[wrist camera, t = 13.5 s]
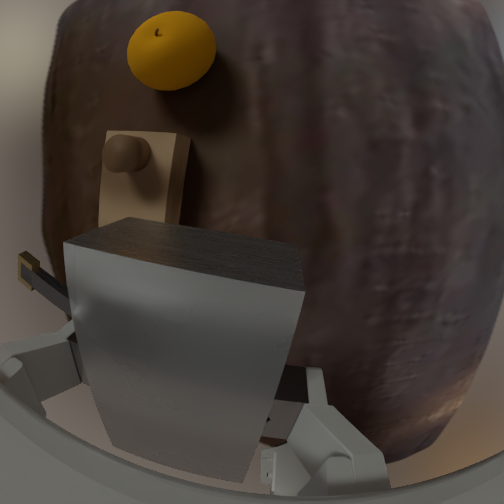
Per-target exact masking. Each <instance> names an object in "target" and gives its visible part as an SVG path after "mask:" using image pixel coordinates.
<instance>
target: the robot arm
mask: <svg viewBox="0 0 504 504" xmlns="http://www.w3.org/2000/svg"><path fill="white" fill-rule="evenodd" d="M81 382H82V383H84V384H86V385H88V386H89V382H88V379H87V376H86V373H85V369H84V366H83V362H82V358H81V354H80V350H79V346H78V342H77V338H76V333H75V328H74V323H73V319H72V320H71V321H70V322H68V323H67V324H66V325H65V326H64V327H63V328H61V329H60V330H59V331H58V332H56V333H55V334H54V333H47V334H43V335H38V336H35V337H30V338H25V339H20V340H16V341H11V342H7V343H2V344H0V504H504V450H503V451H501V452H499V453H497V454H495V455H493V456H491V457H489V458H487V459H484V460H483V461H480V462H478V463H475V464H473V465H470V466H468V467H465V468H463V469H460V470H457V471H455V472H452V473H449V474H446V475H443V476H440V477H437V478H433V479H430V480H426V481H423V482H419V483H415V484H412V485H406V486H402V487H397V488H393V489H391V486H390V481H389V477H388V473H387V468H386V464H385V460H384V456H383V453H382V452H381V451H380V450H379V449H378V448H377V447H376V446H374V445H373V444H372V443H371V442H370V441H369V440H368V439H367V438H366V437H365V436H364V435H363V434H362V433H360V432H359V431H358V430H357V429H356V428H355V427H354V426H353V425H352V424H351V423H350V422H349V421H348V420H347V419H346V418H345V417H344V416H343V415H342V414H341V413H340V412H339V411H338V410H337V409H336V408H335V407H334V406H330V405H328V402H327V396H326V390H325V384H324V378H323V372H322V369H321V368H314V367H300V366H292V365H285V366H284V369H283V372H282V375H281V378H280V382H279V385H278V388H277V391H276V394H275V397H274V400H273V403H272V406H271V409H270V412H269V415H268V417H267V420H266V423H265V426H264V429H263V432H262V434H261V436H265V437H272V438H280V439H287V442H288V443H286V444H283V445H281V446H278V447H273V448H267V449H263V450H261V452H260V481H261V483H264V484H267V485H271V488H270V495H265V494H256V493H247V492H240V491H233V490H227V489H221V488H216V487H212V486H206V485H202V484H198V483H194V482H190V481H186V480H182V479H179V478H175V477H172V476H168V475H165V474H162V473H159V472H156V471H153V470H150V469H147V468H144V467H142V466H139V465H137V464H134V463H131V462H129V461H126V460H124V459H122V458H119V457H117V456H115V455H113V454H110V453H108V452H106V451H104V450H102V449H100V448H98V447H96V446H94V445H92V444H90V443H88V442H86V441H84V440H82V439H80V438H78V437H77V436H75V435H73V434H71V433H70V432H68V431H66V430H64V429H63V428H61V427H60V426H58V425H56V424H55V423H53V422H51V421H50V420H49V419H47V418H46V411H45V410H44V408H43V406H42V404H41V401H44V400H46V399H48V398H50V397H53V396H55V395H57V394H59V393H61V392H64V391H66V390H68V389H70V388H72V387H74V386H76V385H79V384H81Z"/></svg>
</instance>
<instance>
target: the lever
mask: <svg viewBox="0 0 504 504" xmlns="http://www.w3.org/2000/svg"><path fill="white" fill-rule="evenodd" d="M18 280H19V281H20V282H22V283H23V284H24V285H25V286H26V287H27V288H29V289H30V290H31V291H32V290H34V289H35V290H37V291H38V292H39V293H41V294H42V295H43V296H44V297H45V298H47V299H48V300H49V301H51V302H52V303H53V304H54V305H56V306H57V307H58V308H60V309H61V310H62V311H64V312H65V313H67V314H68V315H69V316H71V317H72V313H71V307H70V301H69V294H68V287H66V286H65V285H64V284H62V283H61V282H59V281H58V280H57V279H55V278H54V277H52V276H51V275H50V274H48V273H47V272H46V271H44V270H43V269H42V268H40V261H38V260H37V259H36V258H35V257H33V256H32V255H31V254H30V253H28V252H27V251H24V252H22V253H20V254H18Z"/></svg>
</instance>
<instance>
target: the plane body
mask: <svg viewBox="0 0 504 504" xmlns="http://www.w3.org/2000/svg"><path fill="white" fill-rule="evenodd" d="M190 142H191V138H189V137H186V136H183V135H180V134H177V133H163V132H143V131H107V136H106V142H105V145H104V148H103V151H102V160H103V166H102V175H101V187H100V202H99V228H100V227H102V226H105V225H108V224H110V223H113V222H116V221H118V220H121V219H124V218H127V217H134V218H140V219H147V220H153V221H159V222H165V223H171V224H178V225H179V220H180V211H181V203H182V195H183V188H184V181H185V174H186V167H187V160H188V154H189V148H190Z"/></svg>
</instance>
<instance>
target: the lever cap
mask: <svg viewBox="0 0 504 504" xmlns="http://www.w3.org/2000/svg"><path fill="white" fill-rule="evenodd" d="M63 244H64V259H65V270H66V279H67V287H68V294H69V301H70V307H71V313H72V318H73V323H74V328H75V333H76V338H77V342H78V346H79V350H80V354H81V358H82V362H83V366H84V369H85V373H86V376H87V379H88V382H89V386H90V389H91V392H92V394H93V398H94V400H95V403H96V406H97V409H98V411H99V414H100V417H101V419H102V422H103V424H104V427H105V429H106V431H107V434H108V436H109V438H110V441H111V443H112V445H113V446H115V447H117V448H119V449H121V450H124V451H126V452H129V453H131V454H134V455H136V456H139V457H142V458H144V459H147V460H150V461H153V462H156V463H159V464H162V465H165V466H168V467H172V468H175V469H178V470H182V471H186V472H190V473H193V474H198V475H202V476H206V477H211V478H216V479H221V480H226V481H233V482H239V483H243V481H244V478H245V476H246V473H247V471H248V468H249V466H250V463H251V461H252V458H253V455H254V453H255V450H256V448H257V445H258V442H259V440H260V437H261V434H262V432H263V429H264V426H265V423H266V420H267V417H268V415H269V412H270V409H271V406H272V403H273V400H274V397H275V394H276V391H277V388H278V385H279V382H280V378H281V375H282V372H283V369H284V366H285V362H286V359H287V356H288V352H289V349H290V346H291V342H292V339H293V335H294V332H295V328H296V325H297V321H298V317H299V314H300V310H301V306H302V303H303V299H304V295H305V288H304V283H303V278H302V273H301V268H300V263H299V258H298V254H297V249H296V245H293V244H287V243H282V242H276V241H271V240H265V239H259V238H254V237H248V236H242V235H237V234H231V233H225V232H219V231H213V230H207V229H202V228H196V227H190V226H184V225H178V224H171V223H165V222H159V221H153V220H147V219H140V218H134V217H127V218H124V219H121V220H118V221H116V222H113V223H110V224H108V225H105V226H102V227H100V228H97V229H95V230H92V231H89V232H87V233H84V234H82V235H80V236H77V237H75V238H72V239H70V240H67V241H65V242H63Z"/></svg>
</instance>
